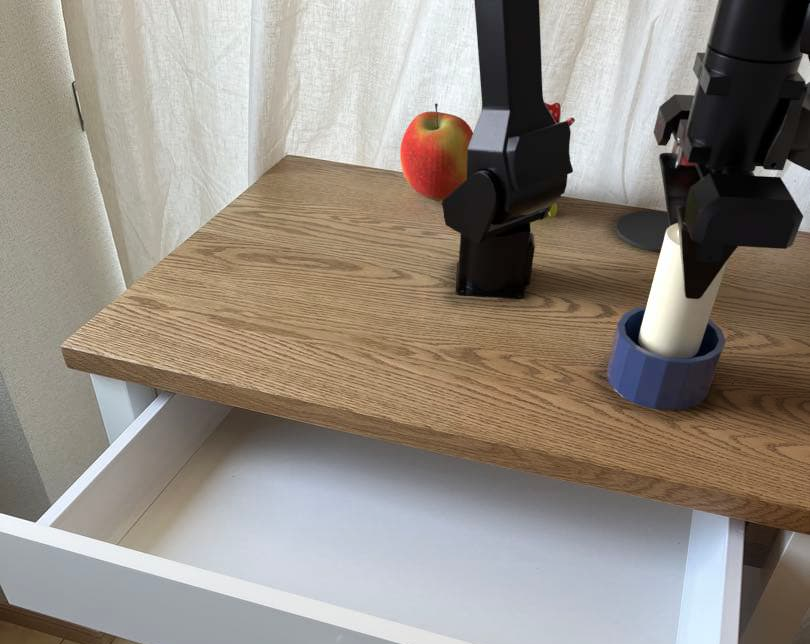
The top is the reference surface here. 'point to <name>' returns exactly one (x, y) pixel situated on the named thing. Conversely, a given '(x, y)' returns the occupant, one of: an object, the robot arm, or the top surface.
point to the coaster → (644, 229)
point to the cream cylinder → (675, 306)
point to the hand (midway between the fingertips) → (686, 280)
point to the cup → (661, 368)
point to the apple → (435, 153)
